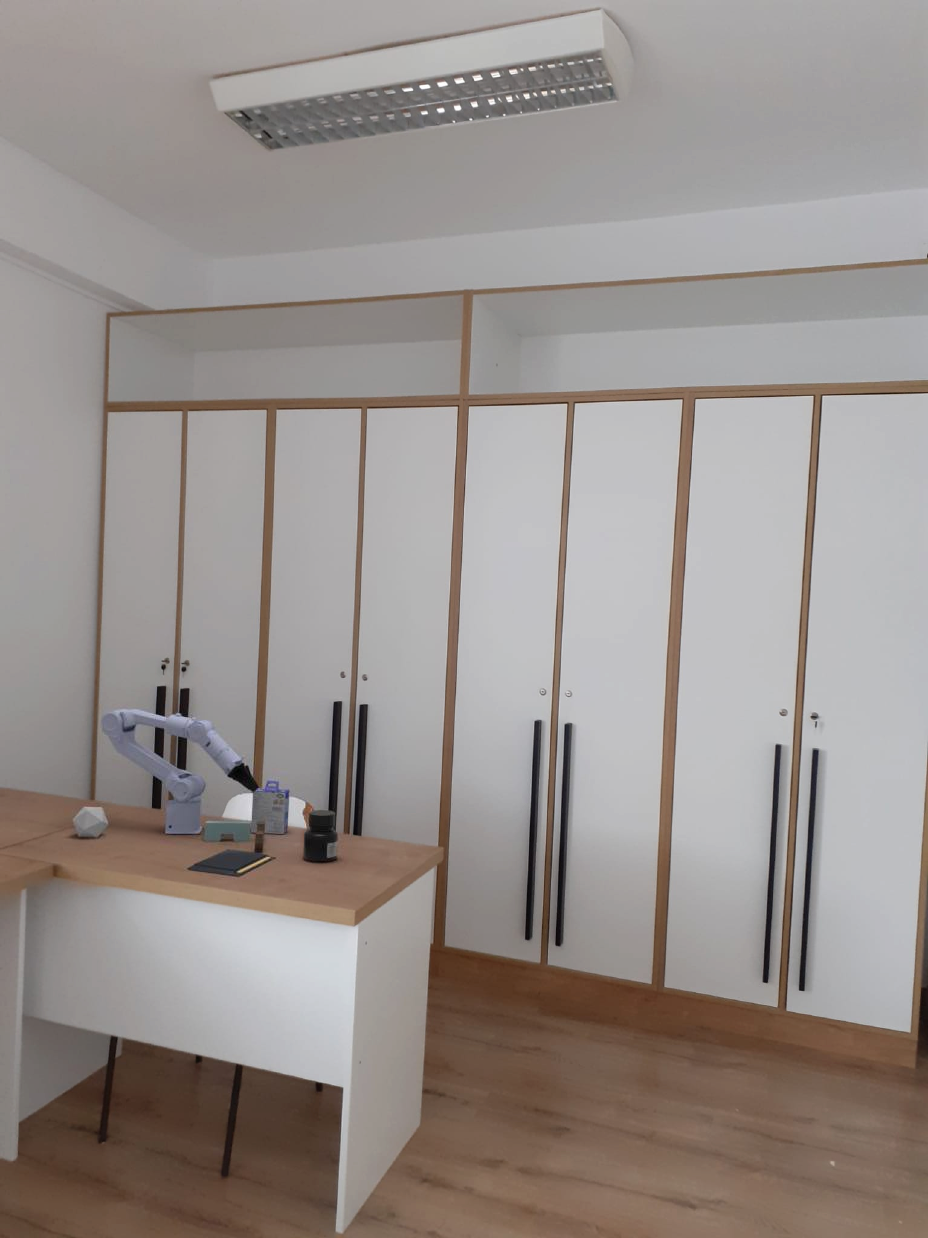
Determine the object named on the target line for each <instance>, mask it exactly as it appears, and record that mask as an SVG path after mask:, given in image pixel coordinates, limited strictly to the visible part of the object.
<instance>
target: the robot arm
mask: <svg viewBox="0 0 928 1238" xmlns="http://www.w3.org/2000/svg"><path fill="white" fill-rule="evenodd" d="M100 724H101V731H102V733H103V734H105V735H106V736H107V737H108V739H109V741H110V743H111V745H112V746H113V748H114V749H115V751H116V752H117V753H119V754H121V755H122V756H123V757H125V758H127V759H128V760H130V761H131V762H132V763H134V764H135V765H137V766H139V767H140V768H141V769H143V770H145V771H146V772H148V773H149V774H150V775H152V776H154V777H155V778H157V779H158V780H160V781H161V782H163V783H164V784H165V789H166V790H168V791H169V792H170V794H171V795H172V797H173V798H174V799H169V800H168V801H167V802H166V803H167V804H166V809H165V811H166V812H165V821H164V823H165V825H164V826H165V830H164V834H166V835H173V834H174V835H175V834H176V835H200V834H201V831H202V830H203V825H201V814H202V813H201V812H202V811H201V810H202V808H201V807H202V794H203V793H204V792H205V790H206V781H205V779H204V777H203V776H202V775H199V774H196V773H191V772H190V771H189V770H185V769H181V768H178V767H176V766H175V765H173V764H172V763H170V762H168V761H167V760H165V759H164V758H163V757H161V756H160V755H158V754H157V753H155V752H154V751H152V750H151V749H149V748H148V747H146V746H144V745H143V744H142V743H140V742H138V741H137V740H135V736H136V735H135V734H136V729H137V725H142V726H143V725H144V726H149V727H153V728H159V729H164V731H165V733H166V734H168V735H170V736H175V737H181V738H184V739H188V740H189V741H190V742H192V743H195V744H198V745H199V746H200V747H201V748H202V749H203V751H205V753H206V754H207V755H208V756H209V757H210V758H211V759H212V760H213V761H214V762H215V764H216V765H218V767H219V768H220V769H221V770H222V771H223V773H224V775H226V776H227V778H228V779H232V780H233V781H235V782H238V783H239V784H240V785H241V786H243V787H244V788H246V790H248V791H251V792H252V793H253V792H254V791H256V790H257V789H260V787H259V785H258V783H257V781H256V780H255V778H254V777H253V774H252V773H251V769H250V767H249V765H248V764H245V763H244V762H243V760H244V759H246V757H245V755H241V756H239V755H238V754H237V753H236V752H235V751H234V750H233V749H232V748H231V747H230V745H228V743H227V741H225V740H224V739H223V738H222V737H221V736H220V735H219V734H218V733H217V731H216V730H215V726H214V724H213V723H212V721H210V720H207V719H203V718H202V719H200V720H198V718H197V717H194V716H193V717H186V716H182V713H175V714H171V715H169V716H163V715H159V714H155V713H152V712H148V711H145V710H141V709H138V708H133V709H131V708H129V707H124V708H122V709H117V710H108V711H106V712H104V714H103V715H102V716H101V721H100Z"/></svg>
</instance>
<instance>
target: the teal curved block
mask: <svg viewBox="0 0 928 1238" xmlns="http://www.w3.org/2000/svg"><path fill="white" fill-rule="evenodd" d="M204 824H205V825H204V842H221V840H222V835H233V842H250V841H251V840H250V839H251V821H250V820H249V821H246V820H243V821H242V820H206V821H205V823H204Z"/></svg>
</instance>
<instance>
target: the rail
mask: <svg viewBox="0 0 928 1238" xmlns="http://www.w3.org/2000/svg"><path fill="white" fill-rule="evenodd" d="M265 835H266V833H265V821H258V823H257V831H256V833H255V838H254V839H255V841H254V842H255V843H254V853H261V854H263V850H264V844H265Z"/></svg>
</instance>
